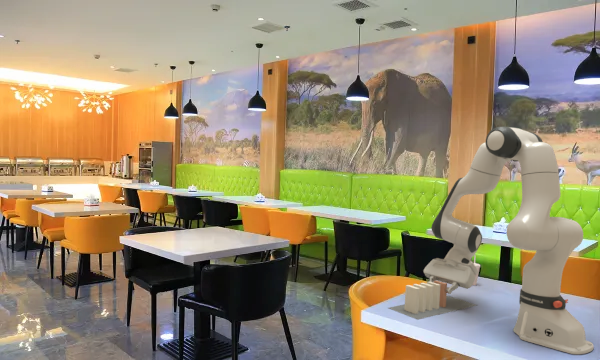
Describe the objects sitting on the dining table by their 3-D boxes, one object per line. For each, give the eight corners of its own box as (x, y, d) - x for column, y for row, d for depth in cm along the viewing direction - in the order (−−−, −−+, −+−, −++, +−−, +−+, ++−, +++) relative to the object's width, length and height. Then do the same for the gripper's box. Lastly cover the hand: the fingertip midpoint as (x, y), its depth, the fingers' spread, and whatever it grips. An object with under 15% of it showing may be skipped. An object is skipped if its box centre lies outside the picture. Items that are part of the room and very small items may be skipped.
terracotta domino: (434, 303, 174) (436, 280, 174) (445, 306, 170) (447, 283, 170) (432, 303, 173) (433, 280, 173) (443, 307, 169) (444, 283, 169)
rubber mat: (477, 306, 175) (477, 305, 175) (417, 321, 154) (417, 319, 154) (447, 297, 186) (447, 295, 186) (387, 309, 165) (387, 307, 165)
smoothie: (481, 286, 207) (483, 256, 207) (467, 285, 207) (469, 255, 207) (476, 283, 214) (478, 254, 213) (462, 282, 214) (464, 253, 213)
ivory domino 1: (407, 309, 165) (408, 284, 165) (418, 313, 161) (419, 288, 161) (404, 309, 164) (405, 285, 164) (415, 313, 160) (416, 288, 160)
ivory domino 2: (414, 307, 167) (415, 283, 167) (425, 311, 163) (426, 287, 163) (411, 308, 166) (413, 284, 166) (422, 312, 162) (424, 287, 162)
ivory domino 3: (421, 306, 170) (422, 282, 169) (432, 309, 166) (433, 285, 165) (418, 306, 169) (420, 283, 168) (429, 310, 165) (431, 286, 164)
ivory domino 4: (428, 304, 172) (429, 281, 172) (439, 308, 168) (440, 284, 168) (425, 305, 171) (426, 281, 171) (436, 309, 167) (437, 285, 167)
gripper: (431, 252, 184) (413, 278, 178) (475, 262, 167) (458, 291, 162) (437, 262, 187) (420, 288, 181) (481, 273, 170) (465, 302, 165)
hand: (438, 289), depth 171 cm, fingers open, 7 cm apart
